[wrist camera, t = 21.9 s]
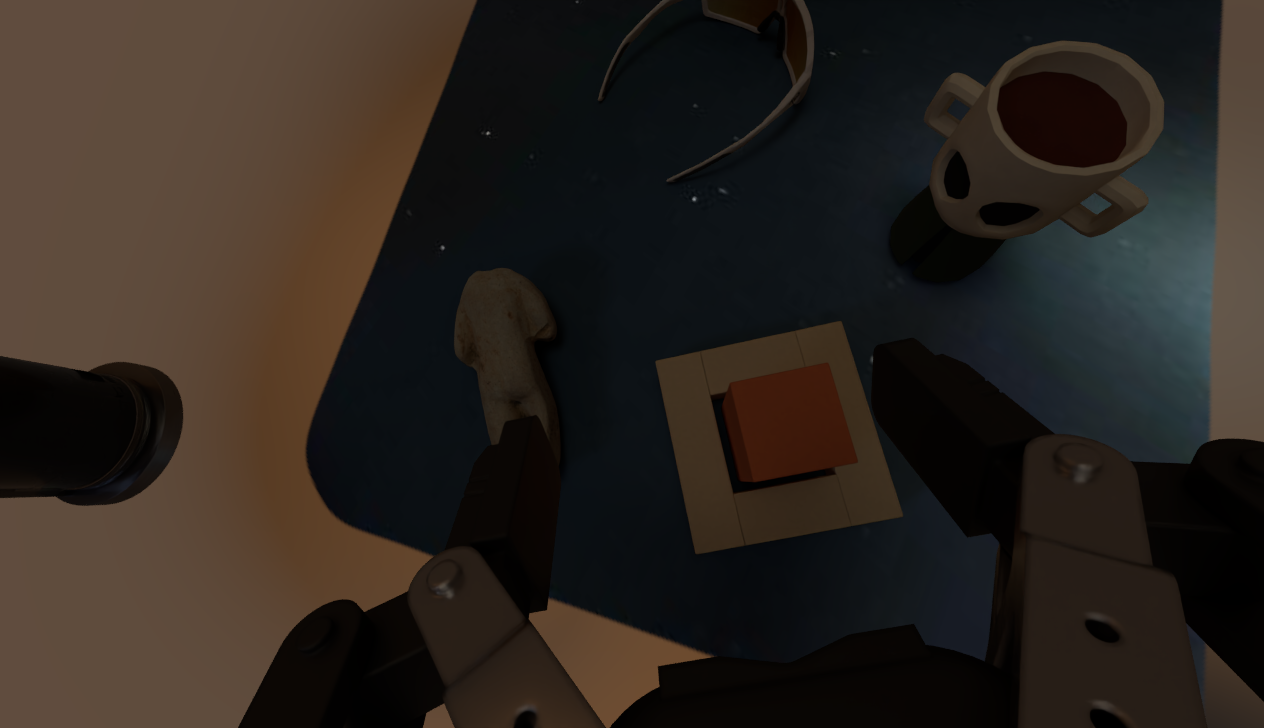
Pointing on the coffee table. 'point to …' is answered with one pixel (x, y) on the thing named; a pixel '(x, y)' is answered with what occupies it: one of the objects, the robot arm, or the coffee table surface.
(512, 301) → the sculpture
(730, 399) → the post
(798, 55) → the sunglasses
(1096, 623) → the robot arm
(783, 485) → the base pad
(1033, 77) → the character mug
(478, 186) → the coffee table surface
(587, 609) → the coffee table surface
